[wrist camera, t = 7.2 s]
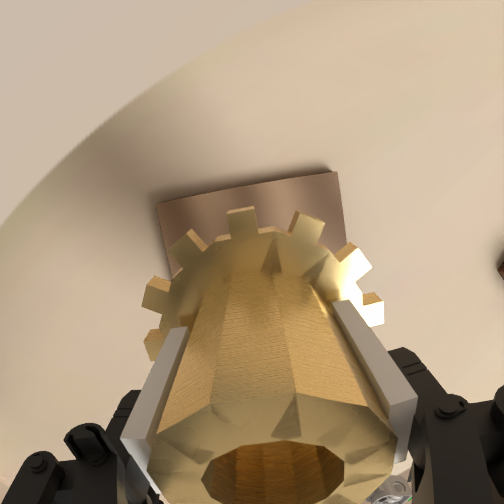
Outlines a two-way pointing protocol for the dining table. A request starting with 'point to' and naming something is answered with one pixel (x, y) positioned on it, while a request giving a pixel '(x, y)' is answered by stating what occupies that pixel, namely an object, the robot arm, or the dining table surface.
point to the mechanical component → (391, 492)
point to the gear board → (257, 210)
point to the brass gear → (266, 371)
